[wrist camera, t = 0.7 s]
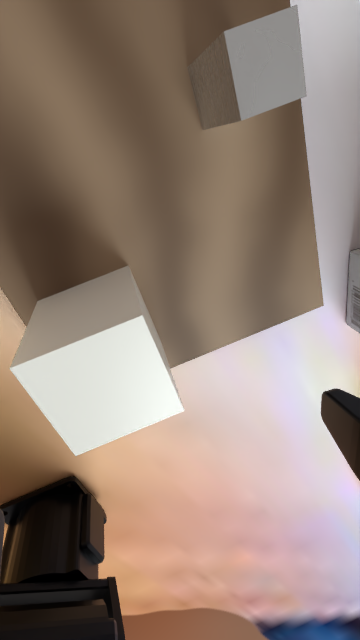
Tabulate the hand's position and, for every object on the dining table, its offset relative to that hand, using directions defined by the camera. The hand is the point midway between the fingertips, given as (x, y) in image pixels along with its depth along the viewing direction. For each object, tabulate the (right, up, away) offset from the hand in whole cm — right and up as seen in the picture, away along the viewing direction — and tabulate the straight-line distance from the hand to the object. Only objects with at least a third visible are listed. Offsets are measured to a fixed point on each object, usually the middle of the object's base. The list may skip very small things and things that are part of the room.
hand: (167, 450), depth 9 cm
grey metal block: (+2, +14, +7) cm, 16 cm away
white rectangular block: (-4, +3, +11) cm, 12 cm away
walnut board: (-1, +10, +10) cm, 14 cm away
